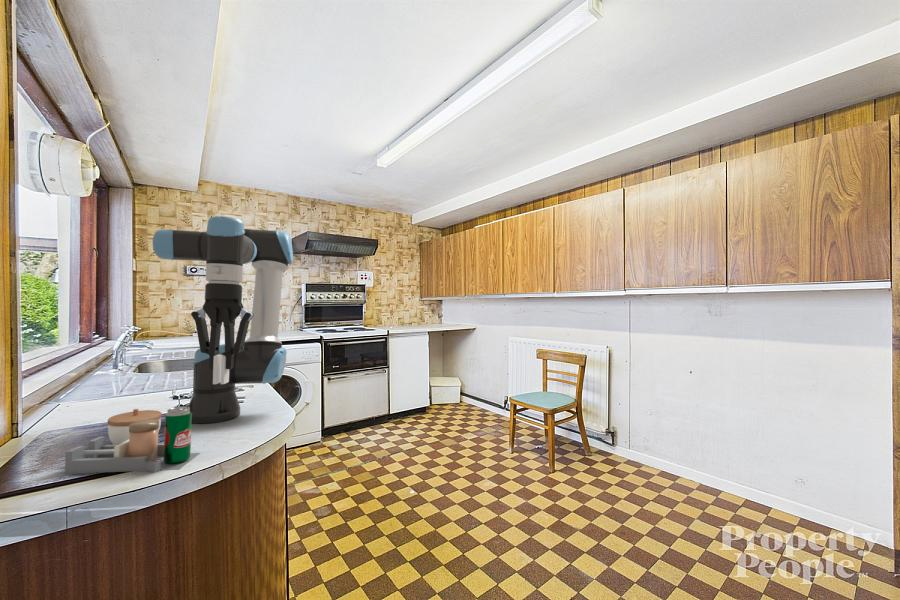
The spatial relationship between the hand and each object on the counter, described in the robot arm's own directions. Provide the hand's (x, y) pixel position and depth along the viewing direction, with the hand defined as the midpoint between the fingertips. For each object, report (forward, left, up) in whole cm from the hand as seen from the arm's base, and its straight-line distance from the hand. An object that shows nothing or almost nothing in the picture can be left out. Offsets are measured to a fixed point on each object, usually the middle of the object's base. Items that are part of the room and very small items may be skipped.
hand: (220, 382), depth 90 cm
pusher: (0, -24, -18) cm, 30 cm away
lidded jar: (-12, -25, -19) cm, 33 cm away
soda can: (0, -9, -18) cm, 20 cm away
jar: (0, -16, -18) cm, 24 cm away
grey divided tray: (0, -17, -18) cm, 25 cm away
